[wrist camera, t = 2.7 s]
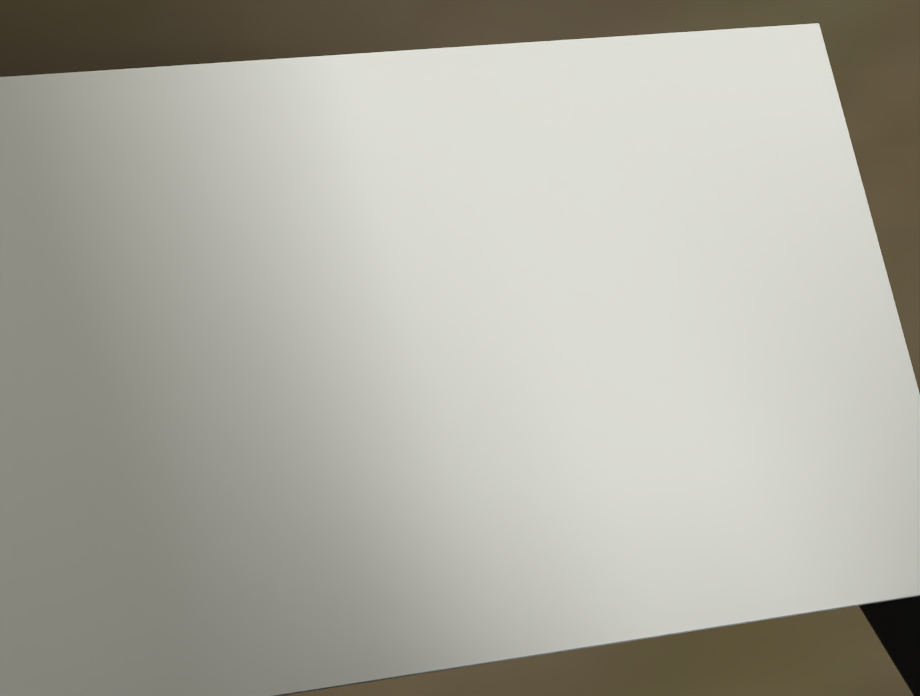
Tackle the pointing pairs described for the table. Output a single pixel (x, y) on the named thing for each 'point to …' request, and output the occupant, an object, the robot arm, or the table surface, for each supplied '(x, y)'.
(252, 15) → the table surface
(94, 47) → the table surface
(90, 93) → the slim case
